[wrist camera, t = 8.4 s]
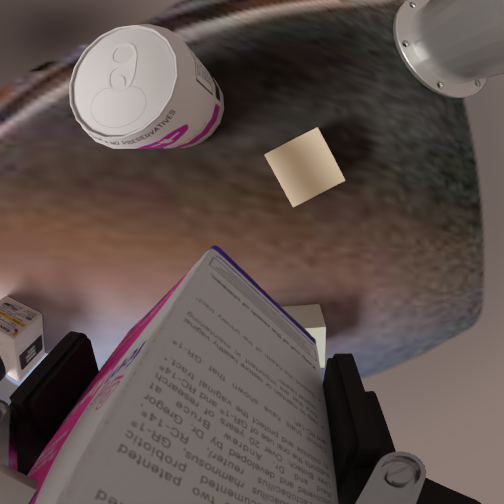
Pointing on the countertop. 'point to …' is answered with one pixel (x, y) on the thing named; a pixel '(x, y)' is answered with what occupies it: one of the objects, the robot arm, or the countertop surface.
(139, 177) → the countertop surface
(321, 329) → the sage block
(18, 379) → the container
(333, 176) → the birch block
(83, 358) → the robot arm
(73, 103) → the supplement can
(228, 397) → the supplement box
